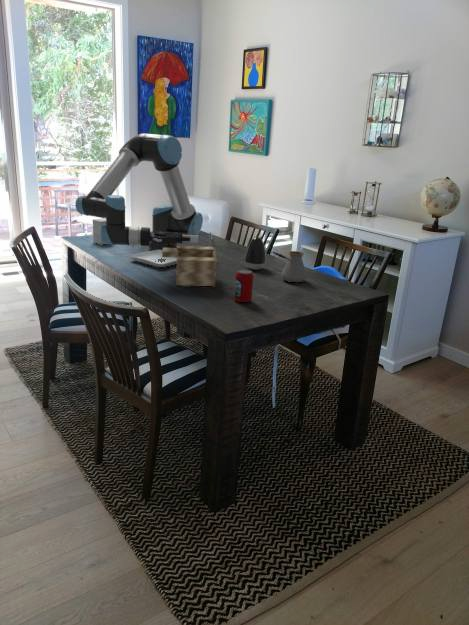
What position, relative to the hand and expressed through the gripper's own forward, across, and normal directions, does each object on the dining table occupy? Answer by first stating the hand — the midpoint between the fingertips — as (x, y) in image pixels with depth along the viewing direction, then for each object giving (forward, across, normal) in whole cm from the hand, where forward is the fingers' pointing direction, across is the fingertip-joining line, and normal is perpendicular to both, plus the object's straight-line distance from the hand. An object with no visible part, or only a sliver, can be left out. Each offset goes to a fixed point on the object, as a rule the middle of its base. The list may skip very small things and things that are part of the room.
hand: (198, 239), depth 207 cm
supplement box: (-48, -64, -19) cm, 82 cm away
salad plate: (-16, -30, -19) cm, 39 cm away
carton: (-3, 0, -18) cm, 19 cm away
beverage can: (+17, +23, -19) cm, 34 cm away
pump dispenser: (+29, -25, -19) cm, 43 cm away
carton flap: (+6, 0, -2) cm, 7 cm away
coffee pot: (+40, -4, -19) cm, 44 cm away
